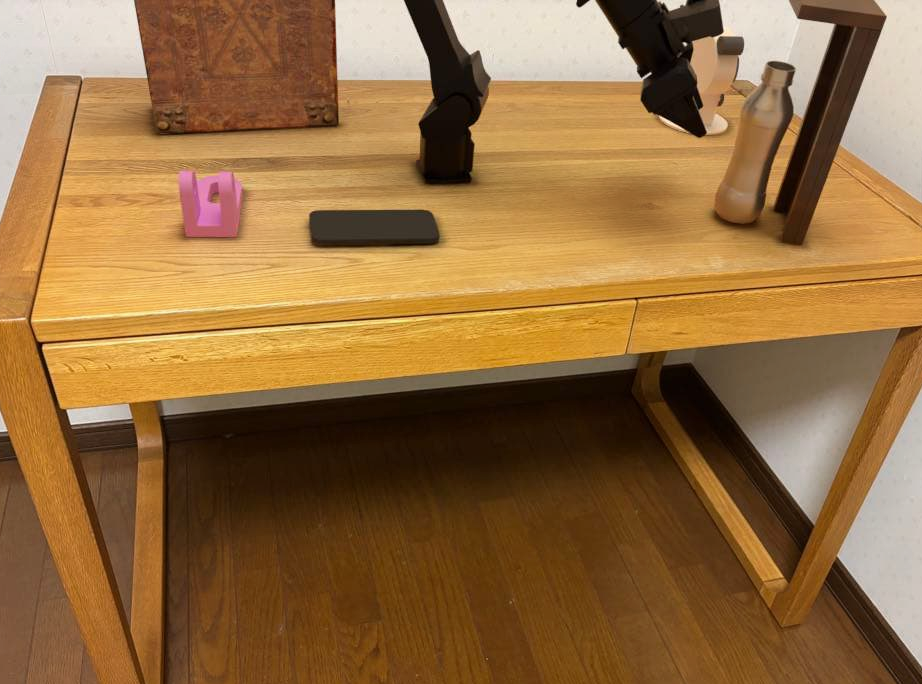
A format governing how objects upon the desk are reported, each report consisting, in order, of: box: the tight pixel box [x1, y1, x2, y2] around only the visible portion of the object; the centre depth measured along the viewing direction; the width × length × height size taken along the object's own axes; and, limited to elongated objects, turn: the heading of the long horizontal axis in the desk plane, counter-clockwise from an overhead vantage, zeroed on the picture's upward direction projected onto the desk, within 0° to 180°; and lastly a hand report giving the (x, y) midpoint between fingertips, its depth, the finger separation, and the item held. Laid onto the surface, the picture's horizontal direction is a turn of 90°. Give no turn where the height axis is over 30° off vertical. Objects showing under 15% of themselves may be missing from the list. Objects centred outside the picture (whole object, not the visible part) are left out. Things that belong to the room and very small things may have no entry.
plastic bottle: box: [714, 60, 797, 225], centre depth 107 cm, size 6×7×20 cm
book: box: [133, 0, 340, 135], centre depth 114 cm, size 25×9×30 cm, turn 110°
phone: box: [308, 209, 440, 246], centre depth 101 cm, size 7×1×15 cm
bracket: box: [178, 170, 244, 238], centre depth 99 cm, size 13×6×7 cm, turn 9°
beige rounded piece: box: [658, 25, 745, 136], centre depth 134 cm, size 12×11×15 cm
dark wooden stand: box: [772, 0, 888, 246], centre depth 104 cm, size 9×10×28 cm
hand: (701, 121), depth 106 cm, fingers open, 9 cm apart
